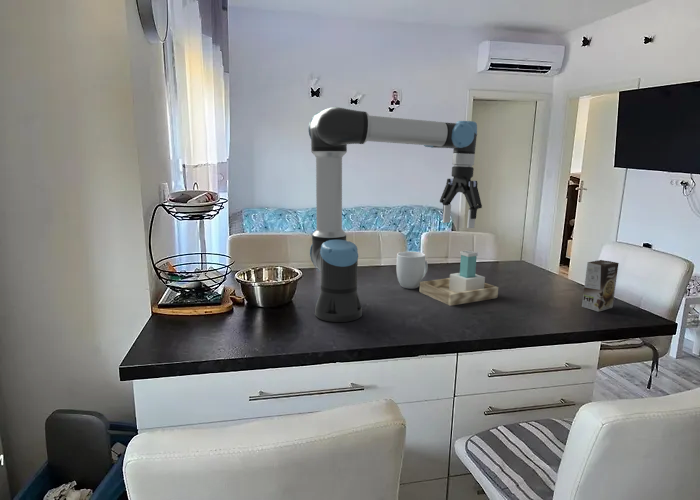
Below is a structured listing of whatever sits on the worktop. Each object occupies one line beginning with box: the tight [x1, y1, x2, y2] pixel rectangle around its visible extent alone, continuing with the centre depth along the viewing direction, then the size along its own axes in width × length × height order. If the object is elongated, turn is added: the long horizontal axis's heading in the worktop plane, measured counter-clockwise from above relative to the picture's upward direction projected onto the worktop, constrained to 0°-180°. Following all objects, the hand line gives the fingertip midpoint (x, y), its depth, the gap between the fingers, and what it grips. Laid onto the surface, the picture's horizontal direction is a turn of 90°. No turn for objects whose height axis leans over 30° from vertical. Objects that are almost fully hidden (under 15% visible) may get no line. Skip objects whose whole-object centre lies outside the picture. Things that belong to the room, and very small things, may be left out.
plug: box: [459, 250, 479, 278], centre depth 176 cm, size 4×4×12 cm
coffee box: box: [581, 259, 620, 313], centre depth 163 cm, size 9×6×16 cm
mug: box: [395, 251, 429, 290], centre depth 186 cm, size 15×11×13 cm
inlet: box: [449, 272, 486, 293], centre depth 177 cm, size 9×9×6 cm
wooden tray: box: [419, 277, 499, 307], centre depth 176 cm, size 22×18×4 cm
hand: (457, 225), depth 173 cm, fingers open, 13 cm apart
